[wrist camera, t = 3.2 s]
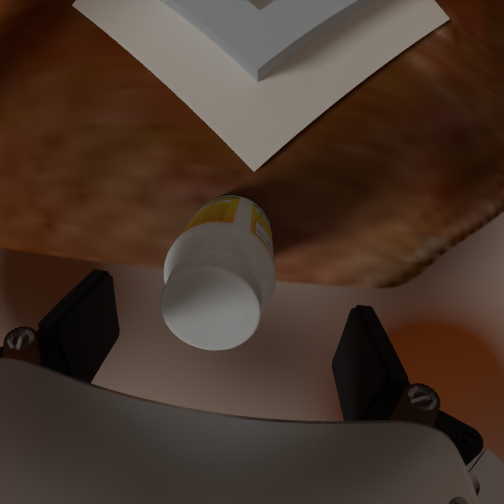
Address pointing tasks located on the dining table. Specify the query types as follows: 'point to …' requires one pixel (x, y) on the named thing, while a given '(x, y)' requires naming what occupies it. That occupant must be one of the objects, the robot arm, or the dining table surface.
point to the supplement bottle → (219, 274)
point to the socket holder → (263, 56)
